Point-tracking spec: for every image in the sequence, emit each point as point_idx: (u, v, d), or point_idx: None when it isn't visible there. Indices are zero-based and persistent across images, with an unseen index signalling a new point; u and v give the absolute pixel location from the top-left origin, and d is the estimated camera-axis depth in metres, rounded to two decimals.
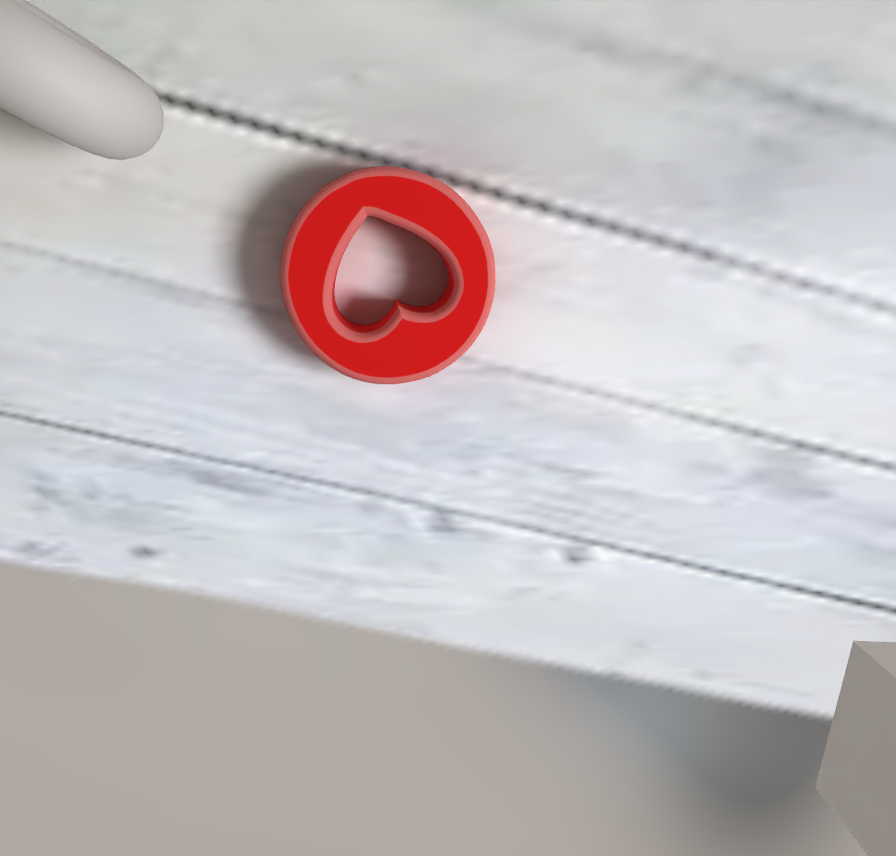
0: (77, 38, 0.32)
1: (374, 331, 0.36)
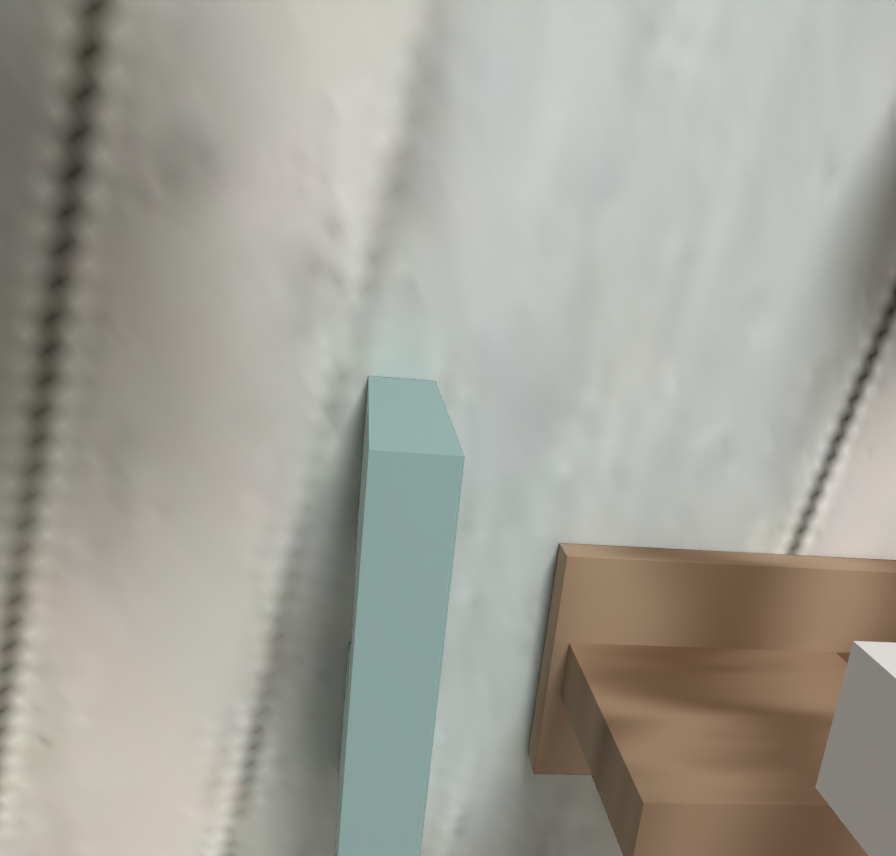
0: None
1: None
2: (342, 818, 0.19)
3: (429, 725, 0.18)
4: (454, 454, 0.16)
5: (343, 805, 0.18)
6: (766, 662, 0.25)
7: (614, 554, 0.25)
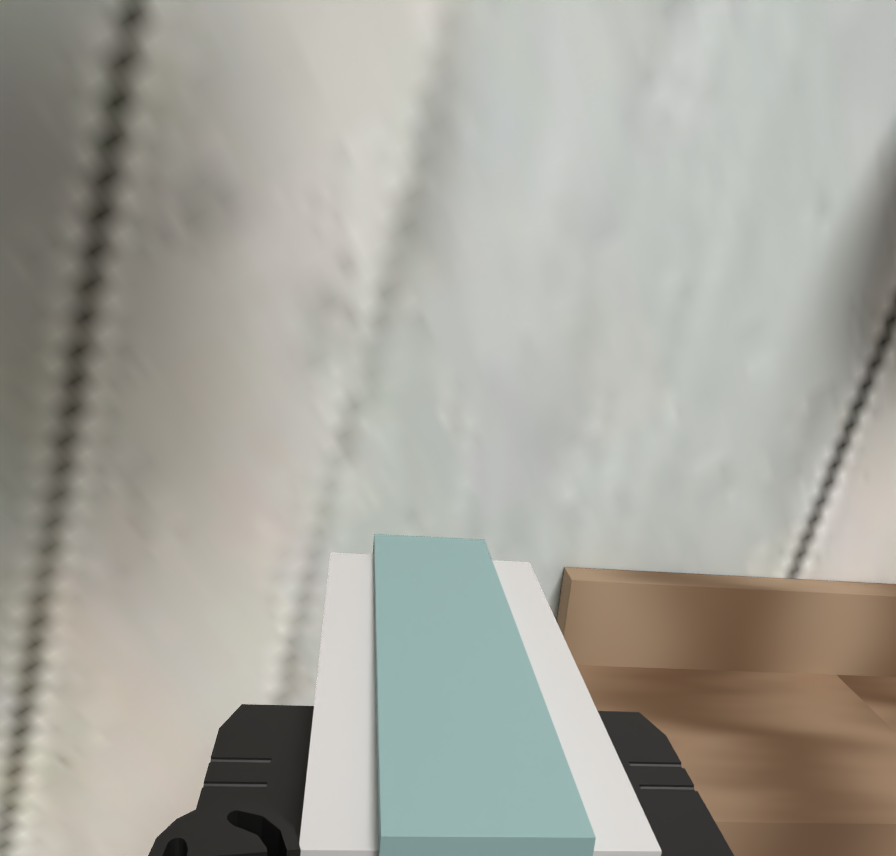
0: None
1: None
2: None
3: None
4: (572, 832, 0.07)
5: None
6: (767, 684, 0.26)
7: (618, 578, 0.25)
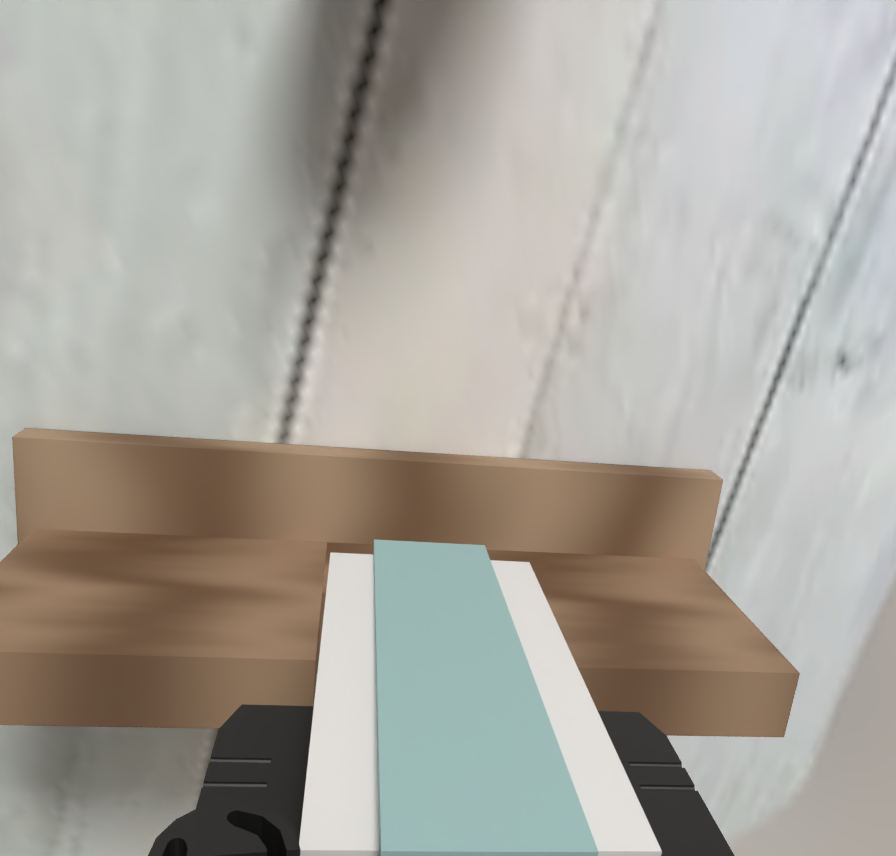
0: None
1: None
2: None
3: None
4: (574, 846, 0.07)
5: None
6: (234, 548, 0.25)
7: (72, 437, 0.24)
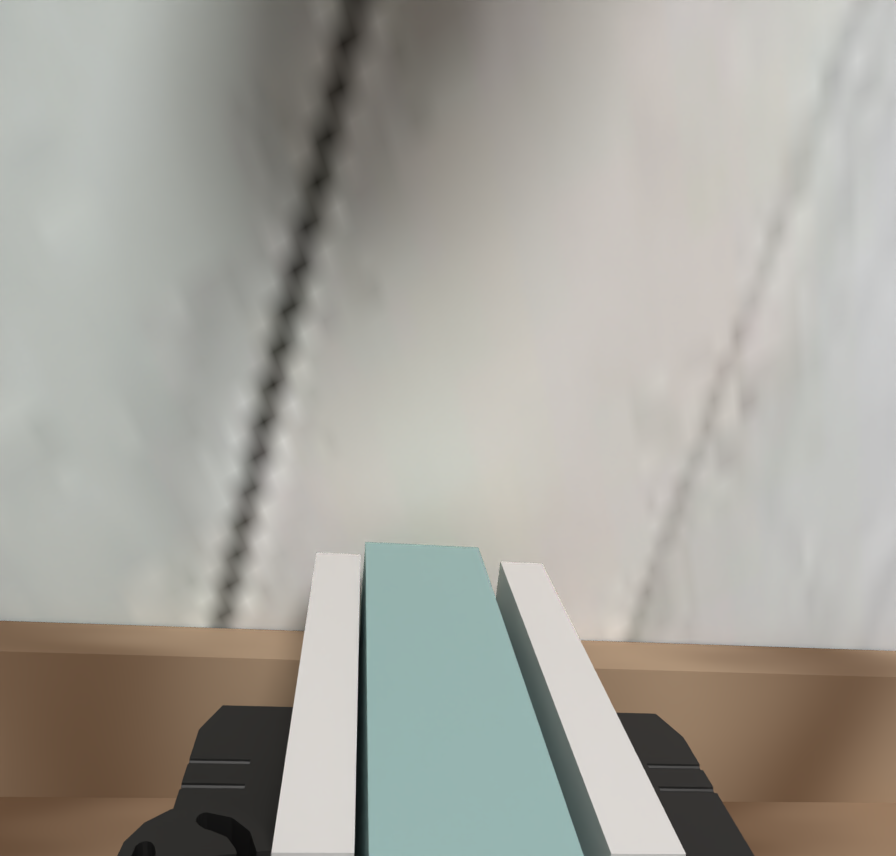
0: None
1: None
2: None
3: None
4: None
5: None
6: (130, 829, 0.14)
7: None
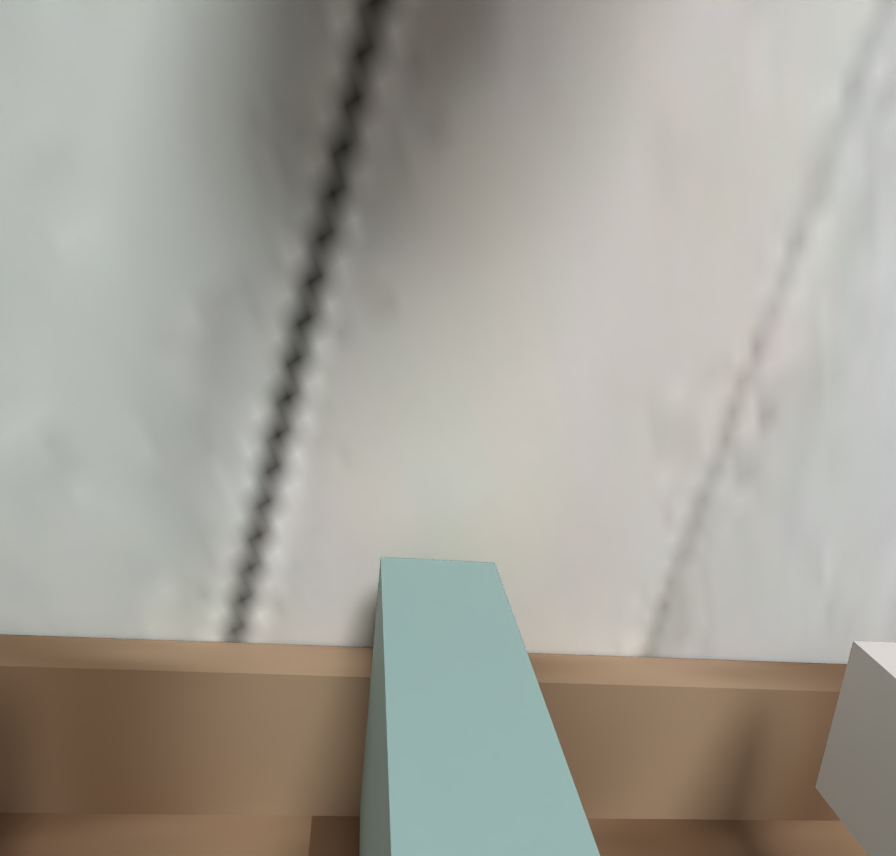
0: None
1: None
2: None
3: None
4: None
5: None
6: (142, 846, 0.14)
7: None
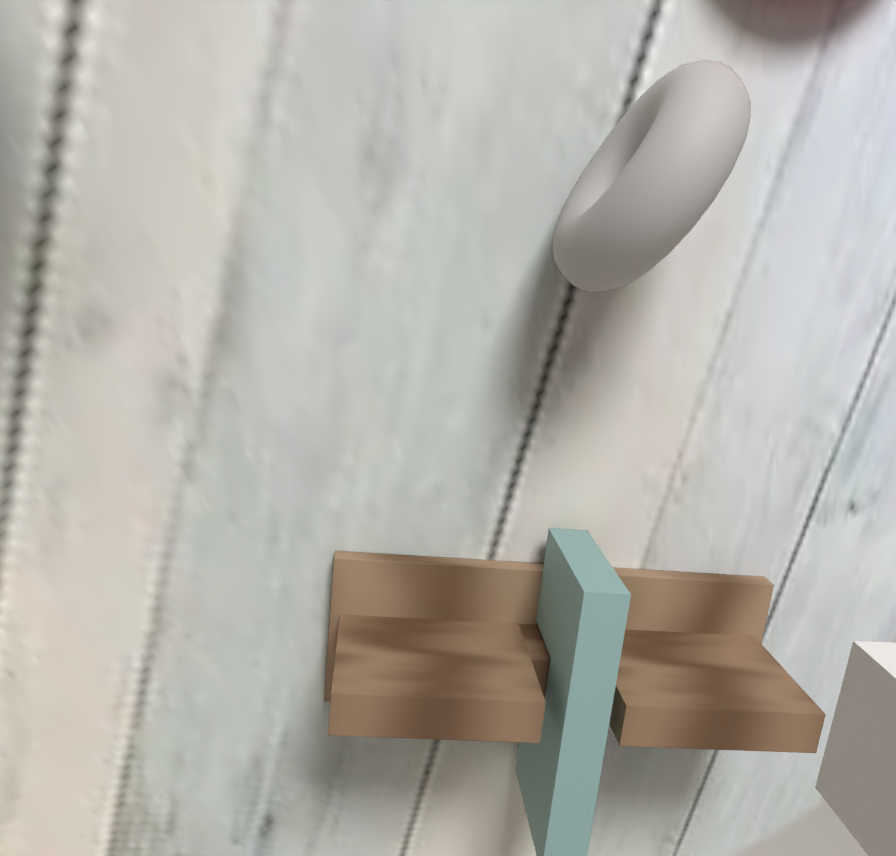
0: (596, 162, 0.34)
1: None
2: (555, 783, 0.35)
3: (605, 732, 0.34)
4: (625, 593, 0.33)
5: (557, 776, 0.34)
6: (465, 628, 0.39)
7: (367, 558, 0.39)
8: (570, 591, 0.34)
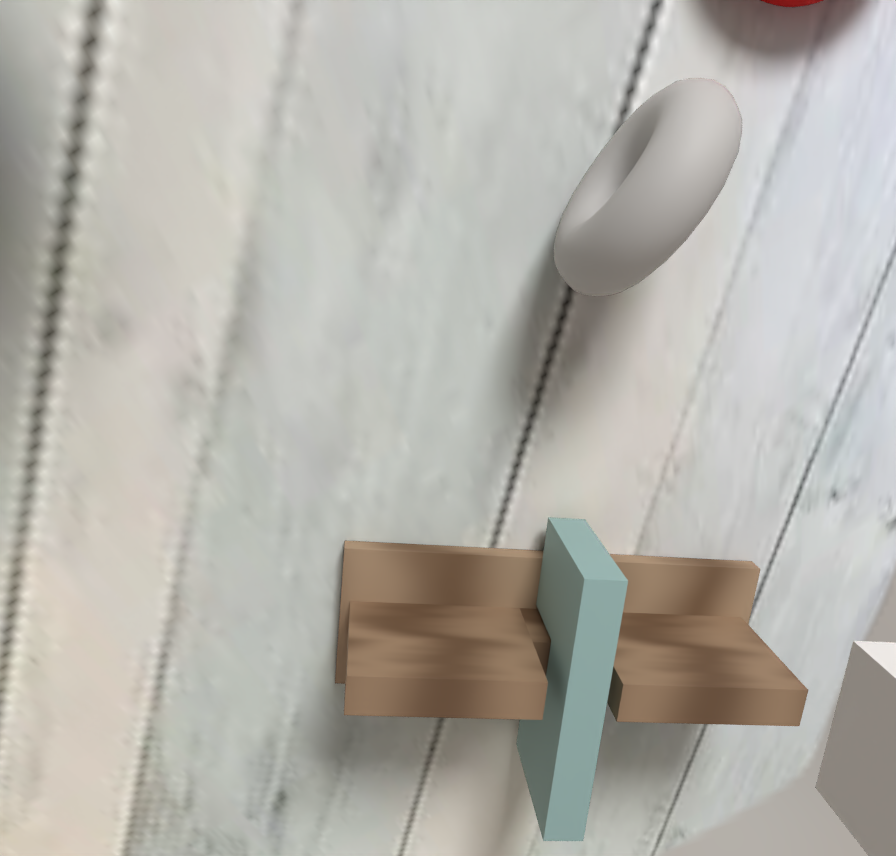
0: (594, 171, 0.36)
1: None
2: (557, 757, 0.37)
3: (603, 709, 0.36)
4: (623, 580, 0.35)
5: (558, 750, 0.37)
6: (469, 612, 0.42)
7: (375, 547, 0.41)
8: (570, 578, 0.37)
